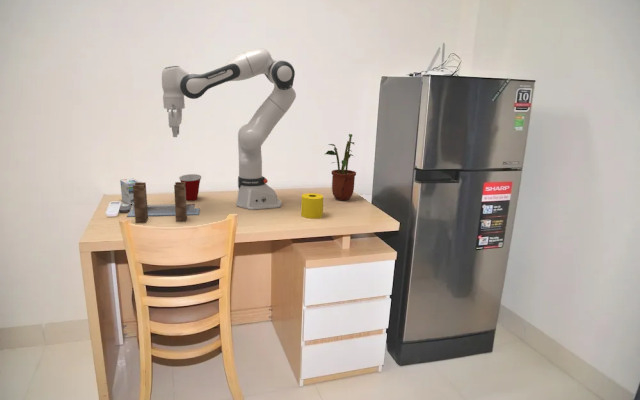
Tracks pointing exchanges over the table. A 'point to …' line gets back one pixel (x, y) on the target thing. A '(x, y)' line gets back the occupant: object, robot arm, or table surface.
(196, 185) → the plastic cup
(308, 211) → the yellow hollow cylinder
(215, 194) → the table surface
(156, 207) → the rail
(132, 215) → the slate mat
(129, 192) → the light bulb box
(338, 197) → the potted plant
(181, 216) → the hook posts
